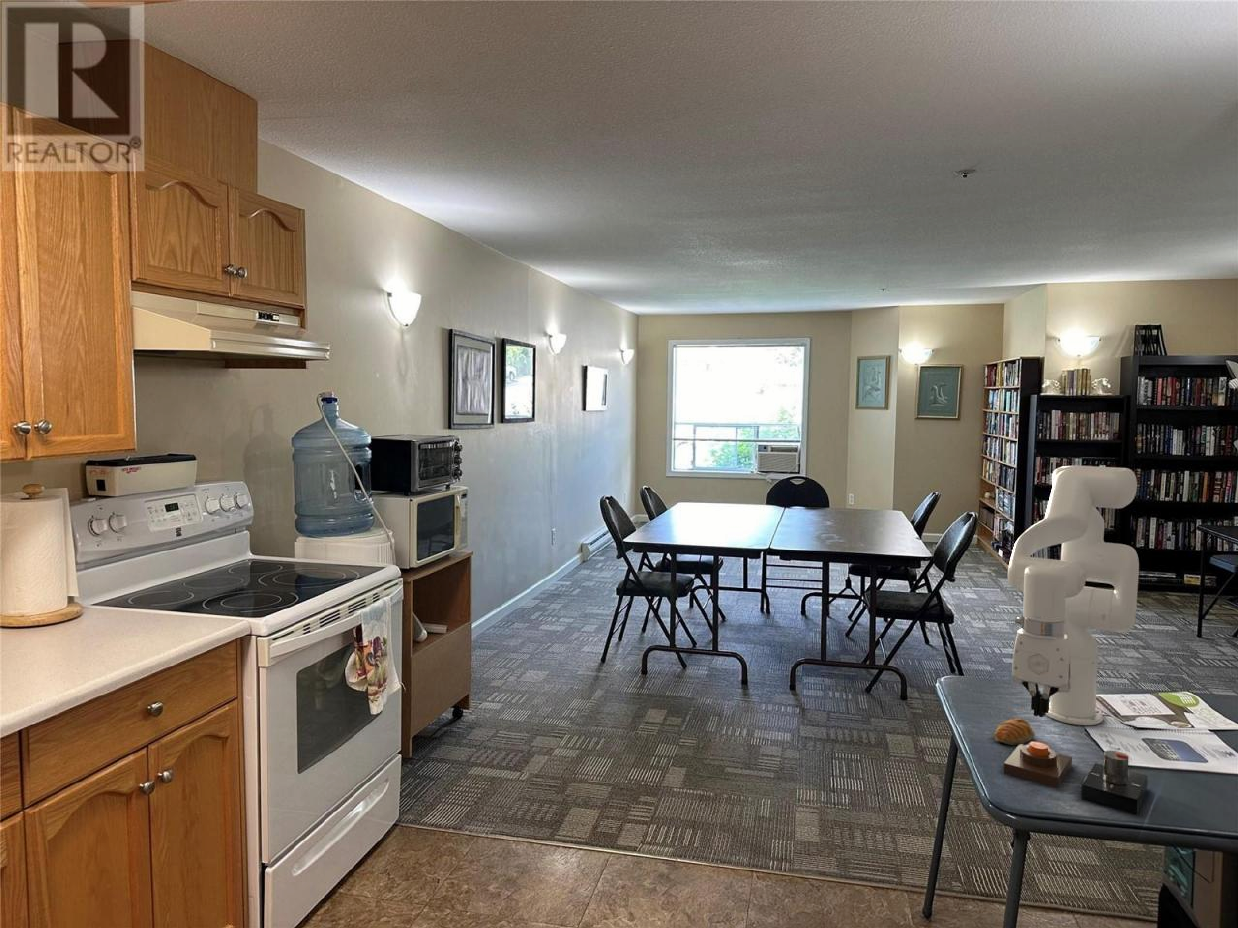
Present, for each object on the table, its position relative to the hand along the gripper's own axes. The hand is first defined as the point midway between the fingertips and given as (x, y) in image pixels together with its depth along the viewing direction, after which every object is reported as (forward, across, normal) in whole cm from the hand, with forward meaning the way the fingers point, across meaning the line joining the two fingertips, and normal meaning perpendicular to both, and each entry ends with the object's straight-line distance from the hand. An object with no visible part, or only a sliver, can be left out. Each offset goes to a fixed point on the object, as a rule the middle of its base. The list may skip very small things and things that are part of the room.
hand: (1039, 714), depth 167 cm
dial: (+9, +14, -2) cm, 17 cm away
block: (+12, 0, 0) cm, 12 cm away
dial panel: (+12, +14, -2) cm, 18 cm away
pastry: (+12, -8, +13) cm, 20 cm away
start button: (+8, 0, 0) cm, 8 cm away
